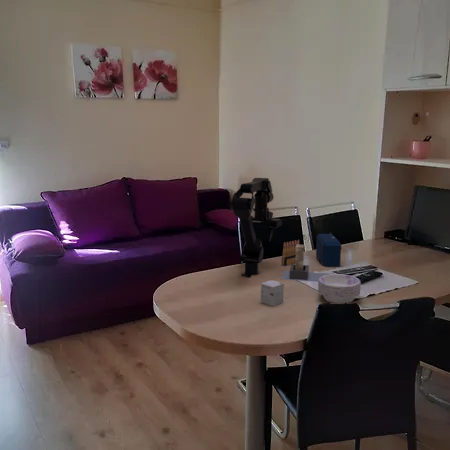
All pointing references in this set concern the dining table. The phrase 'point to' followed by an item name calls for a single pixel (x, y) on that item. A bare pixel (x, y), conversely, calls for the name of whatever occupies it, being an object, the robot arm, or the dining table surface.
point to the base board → (311, 277)
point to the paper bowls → (339, 288)
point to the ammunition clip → (289, 253)
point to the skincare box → (272, 292)
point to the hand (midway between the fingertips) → (260, 239)
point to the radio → (328, 250)
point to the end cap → (299, 272)
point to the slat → (299, 257)
